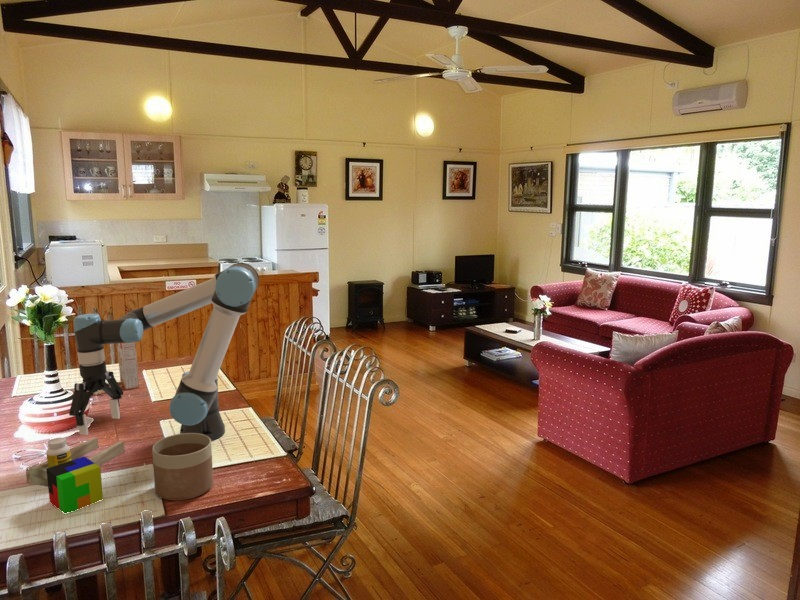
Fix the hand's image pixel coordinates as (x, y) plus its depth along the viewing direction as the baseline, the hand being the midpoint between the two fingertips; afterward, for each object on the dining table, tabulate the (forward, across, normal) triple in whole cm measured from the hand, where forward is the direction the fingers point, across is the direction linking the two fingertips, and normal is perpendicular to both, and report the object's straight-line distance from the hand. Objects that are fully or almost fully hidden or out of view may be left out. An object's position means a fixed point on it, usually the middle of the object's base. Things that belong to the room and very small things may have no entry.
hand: (100, 426), depth 191 cm
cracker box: (+9, -61, -42) cm, 74 cm away
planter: (+11, +12, +39) cm, 42 cm away
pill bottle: (+10, +16, -2) cm, 18 cm away
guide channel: (+10, +10, -1) cm, 13 cm away
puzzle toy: (+10, +26, +15) cm, 32 cm away
